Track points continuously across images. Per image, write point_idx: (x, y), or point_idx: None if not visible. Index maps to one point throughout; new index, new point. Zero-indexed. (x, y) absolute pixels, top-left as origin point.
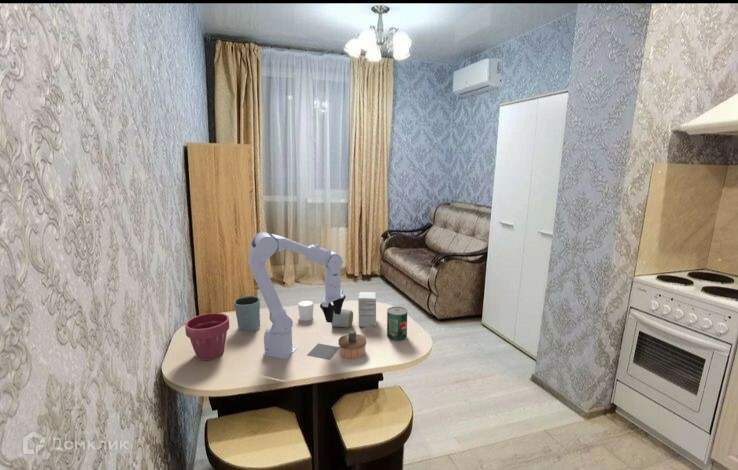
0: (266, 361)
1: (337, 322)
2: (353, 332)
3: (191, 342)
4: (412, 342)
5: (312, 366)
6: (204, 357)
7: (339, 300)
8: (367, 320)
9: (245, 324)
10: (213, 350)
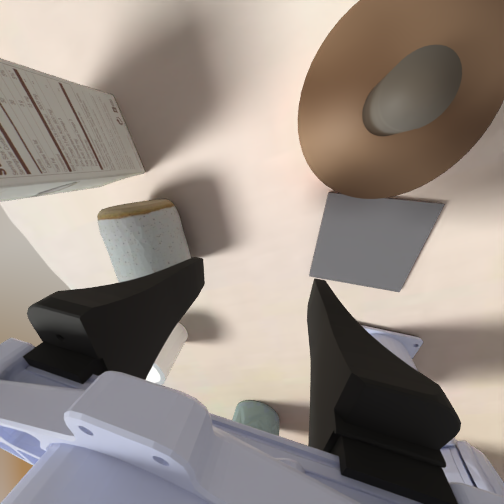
0: (426, 374)
1: (184, 251)
2: (414, 81)
3: None
4: None
5: (485, 255)
6: None
7: (132, 325)
8: (107, 131)
9: None
10: None
